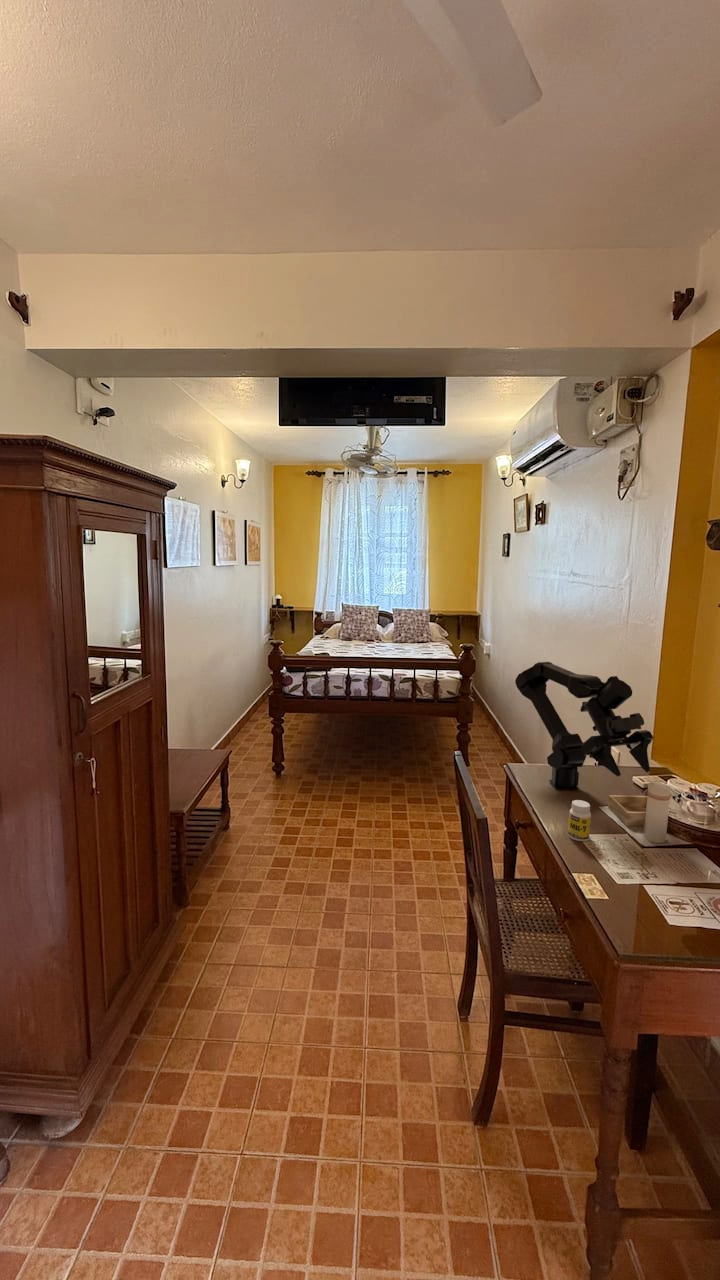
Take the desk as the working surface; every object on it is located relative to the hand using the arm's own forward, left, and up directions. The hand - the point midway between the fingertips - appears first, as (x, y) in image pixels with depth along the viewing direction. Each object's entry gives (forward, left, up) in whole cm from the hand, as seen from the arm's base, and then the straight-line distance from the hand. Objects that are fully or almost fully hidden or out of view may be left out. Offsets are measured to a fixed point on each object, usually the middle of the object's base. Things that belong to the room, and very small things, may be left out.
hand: (633, 773), depth 135 cm
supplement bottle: (-15, -7, -13) cm, 22 cm away
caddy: (+4, +4, -13) cm, 14 cm away
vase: (+3, -7, -13) cm, 15 cm away
